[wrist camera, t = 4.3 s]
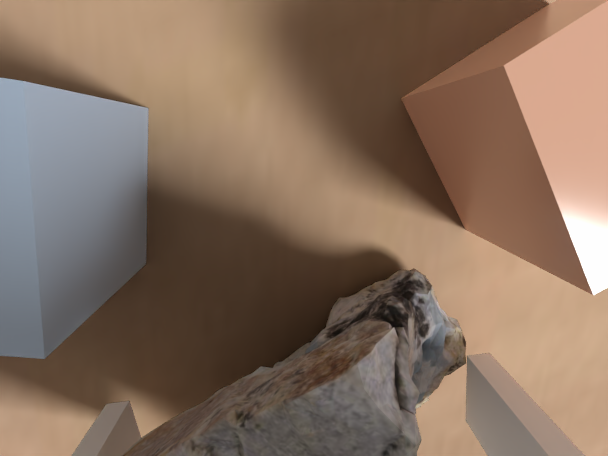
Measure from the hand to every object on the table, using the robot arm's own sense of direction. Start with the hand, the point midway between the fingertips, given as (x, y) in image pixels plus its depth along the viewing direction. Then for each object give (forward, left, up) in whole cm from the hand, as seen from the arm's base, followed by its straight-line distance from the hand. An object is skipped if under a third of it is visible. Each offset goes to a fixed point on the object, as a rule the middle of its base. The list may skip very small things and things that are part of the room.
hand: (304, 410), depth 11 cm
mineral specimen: (0, +1, -2) cm, 2 cm away
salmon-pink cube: (+8, +8, -2) cm, 11 cm away
